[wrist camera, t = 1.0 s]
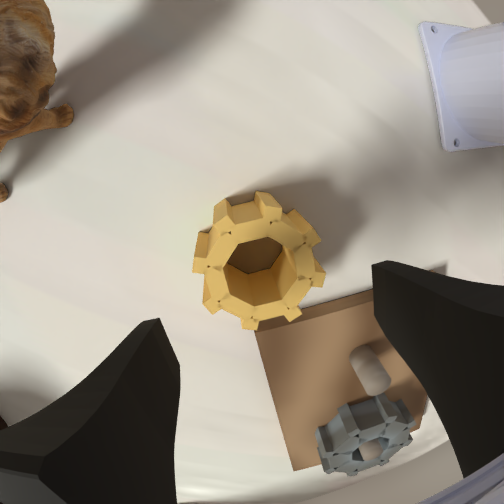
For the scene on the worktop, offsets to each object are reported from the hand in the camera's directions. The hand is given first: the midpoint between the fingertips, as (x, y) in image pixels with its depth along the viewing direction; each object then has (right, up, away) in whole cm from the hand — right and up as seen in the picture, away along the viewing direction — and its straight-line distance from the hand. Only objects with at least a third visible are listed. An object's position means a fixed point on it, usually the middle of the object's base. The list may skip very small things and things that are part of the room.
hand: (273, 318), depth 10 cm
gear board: (+7, -8, +11) cm, 15 cm away
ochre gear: (-1, +2, +7) cm, 7 cm away
